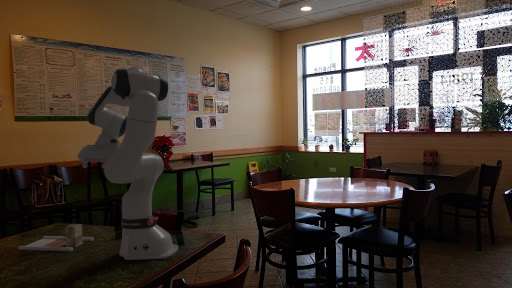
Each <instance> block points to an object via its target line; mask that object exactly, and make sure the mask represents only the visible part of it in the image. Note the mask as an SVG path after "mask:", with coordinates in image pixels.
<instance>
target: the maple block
mask: <svg viewBox="0 0 512 288" xmlns="http://www.w3.org/2000/svg"><path fill="white" fill-rule="evenodd" d="M64 227H65V228H64V229H65V230H64V231H65V237H66V240H65V241H66V245H65V247H73V248H76V247H79V246H81V245H83V242H84V241H82V237H83V224H82V223H71V224H69V225H66V226H64Z"/></svg>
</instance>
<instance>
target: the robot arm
mask: <svg viewBox="0 0 512 288" xmlns="http://www.w3.org/2000/svg"><path fill="white" fill-rule="evenodd" d="M110 84H111V86H109V87H107V88H106V89H105V90H104V91H103V93H102V94H101V95H100V96H99V98H98V99H97V100H96V102H95V103H94V105H92V106H91V107H90V108H89V109H88V111H87V114H86V120H87V121H88V123H89V124H90V125H92V126H96V127H98V128H101V133H100V134H99V135H98V137H97V139H96V140H95V142H94V144H87V145H85V146H83V147H82V148H81V149H80V151H79V152H78V154H77V159H79V161H80V162H82V163H83V164H82V165H81V166H82V168H83V169H87V168H88V167H89V165H88V162H90V163H91V162H93V163H94V162H95V163H96V162H101V163H102V162H103V163H102V164H101V168H102V169H104V170H103V172H104V175H105V178H106V180H108V181H109V182H110V183H112V184H121V185H122V184H130V183H131V184H130V186H129V189H128V190H127V192H125V193H124V195H123V196H122V198H121V209H122V210H121V213H122V217H121V219H120V220H121V231H122V237H121V245H120V250H119V253H118V254H119V256H120V257H122V258H123V259H124V260H125V261H129V260H130V261H131V260H132V261H134V260H138V261H139V260H156V259H157V260H159V259H167V258H169V257H171V256H173V255H175V254H176V253H177V252H178V251H179V246H178V245H177V244H174V243H173V239H172V236H171V234H170V233H169V232H168V231H166V230H165V229H164V228H162V227H161V226H160V225H158V224H157V220H158V219H159V216H156V217H155V216H154V215H153V213H152V212H153V211H152V207H153V206H152V201H153V199H152V198H153V192H154V188H155V185H156V183H157V180H158V179H159V177H160V176H161V174H162V173H163V172H164V168H165V163H164V160H163V158H162V157H161V156H160V155H159V154H157V153H151V152H145V151H146V150H147V149H148V148H149V146H151V145H152V144H153V143H154V141H155V138H156V132H157V131H156V130H157V123H158V117H159V115H158V114H159V102H162V101H164V100H166V98H167V96H168V93H169V82H168V80H167V79H166V78H165V77H164V76H161V75H155V74H153V73H148V72H144V70H143V69H141V68H139V67H135V66H134V67H129V68H127V69H126V68H117V69H116V70H115V71H114V72H113V75H112V77H111V81H110ZM108 104H110V105H117V106H121V107H127V108H128V111H127V116H125V115H123V114H121V113H118V112H117V111H114V110H112V109H111V108H107V107H106V106H107V105H108ZM121 137H123V140H122V141H120V140H119V139H120V138H121Z"/></svg>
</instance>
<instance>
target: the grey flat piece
mask: <svg viewBox="0 0 512 288" xmlns="http://www.w3.org/2000/svg"><path fill="white" fill-rule="evenodd" d="M94 240H95V239H94V236H82V242H84V241H87V242H90V241H91V242H93V241H94ZM64 246H65V247H64ZM17 250H20V251H21V250H22V251H48V252H49V251H50V252H54V251H55V252H73V251H74V247H66V236H61V235H58V236H57V235H56V236H53V235H44V236H42V238H41V239H38V240H36V241H34V242H32V243H29V244H26V245H20V246H18V248H17Z"/></svg>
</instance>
